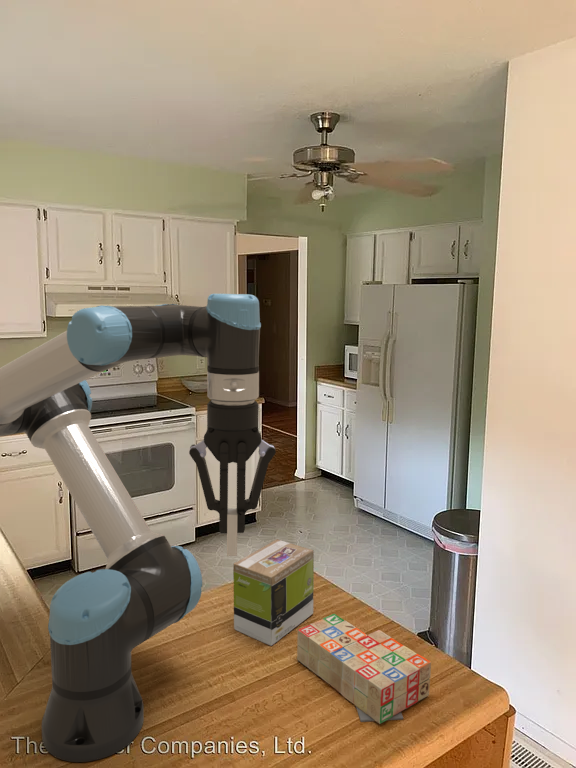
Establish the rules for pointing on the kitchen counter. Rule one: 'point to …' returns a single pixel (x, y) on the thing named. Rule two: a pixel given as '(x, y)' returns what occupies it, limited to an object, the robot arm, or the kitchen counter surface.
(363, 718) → the rubber pad
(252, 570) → the tea box
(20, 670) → the kitchen counter surface
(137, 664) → the kitchen counter surface
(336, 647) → the stack of blocks
